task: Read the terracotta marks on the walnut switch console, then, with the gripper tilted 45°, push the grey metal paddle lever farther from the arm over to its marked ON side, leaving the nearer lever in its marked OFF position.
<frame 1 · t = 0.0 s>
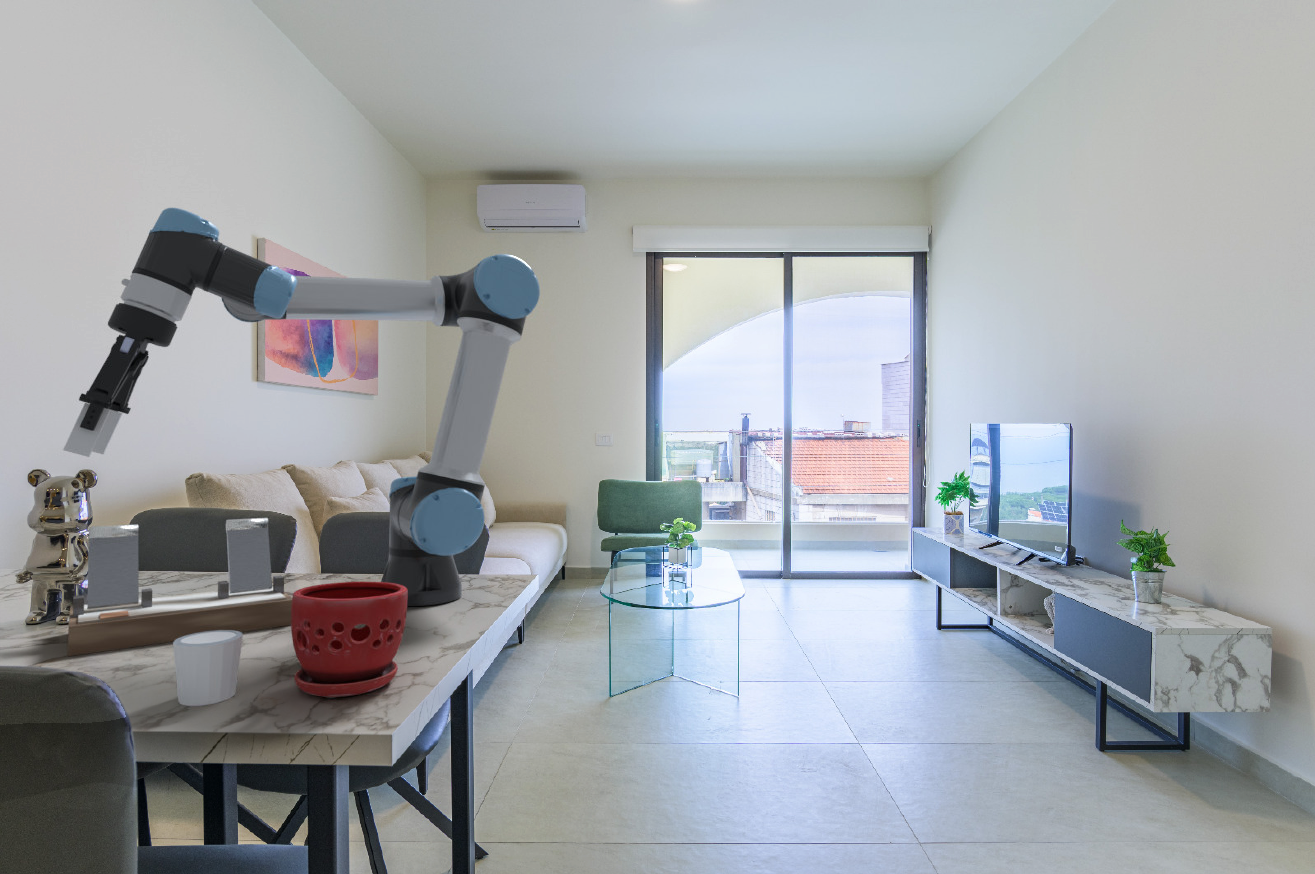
hand: (84, 452, 96), 28 cm above the table, tool tilted 20°, fingers open, 13 cm apart
white cup: (207, 698, 81), on the table
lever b: (113, 564, 106), point 11 cm above the table, hinge at -25.0°
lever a: (249, 554, 117), point 11 cm above the table, hinge at -25.0°
plant pot: (349, 686, 86), on the table
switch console: (185, 628, 109), on the table
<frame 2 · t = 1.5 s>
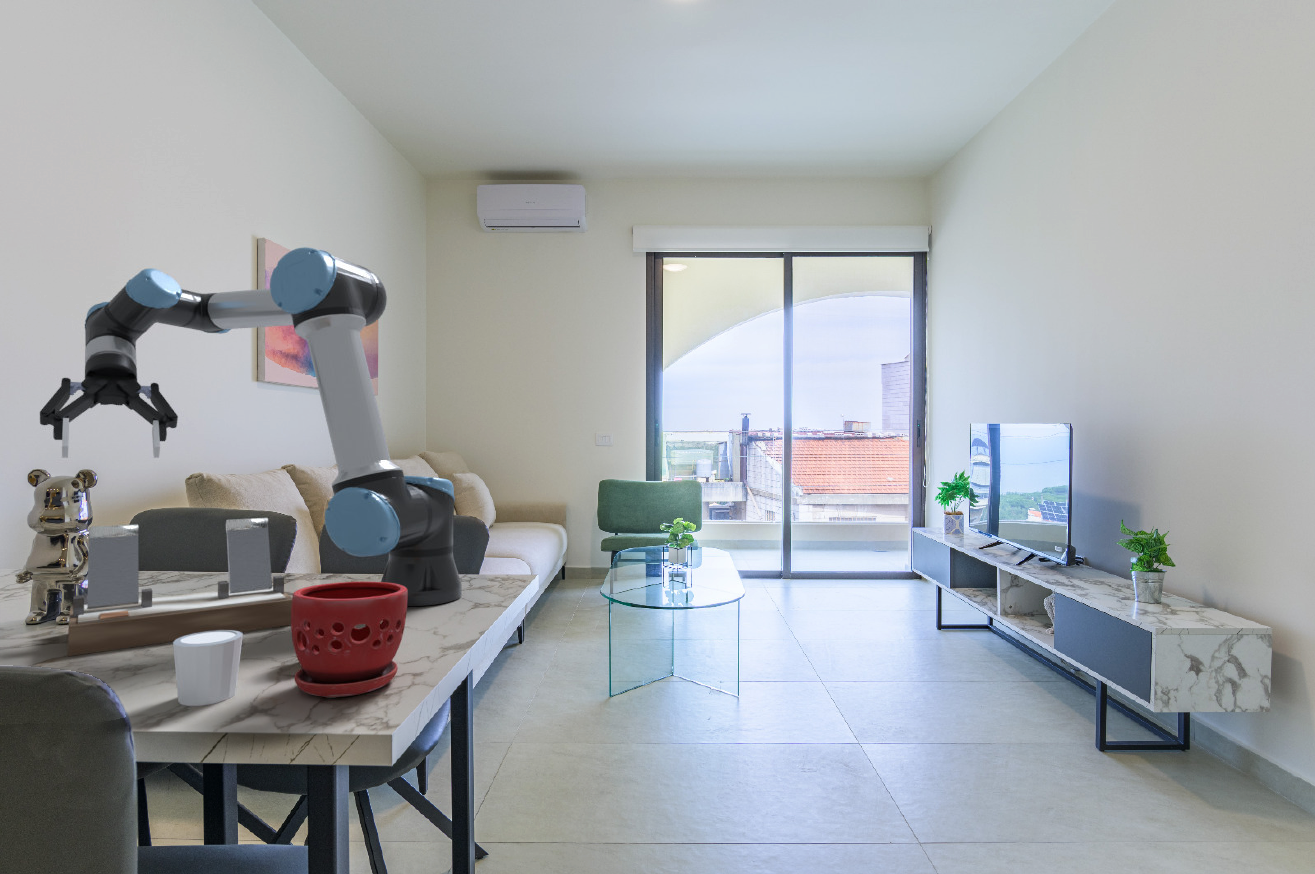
hand: (112, 452, 116), 27 cm above the table, tool tilted 45°, fingers open, 11 cm apart
nothing on the table moved.
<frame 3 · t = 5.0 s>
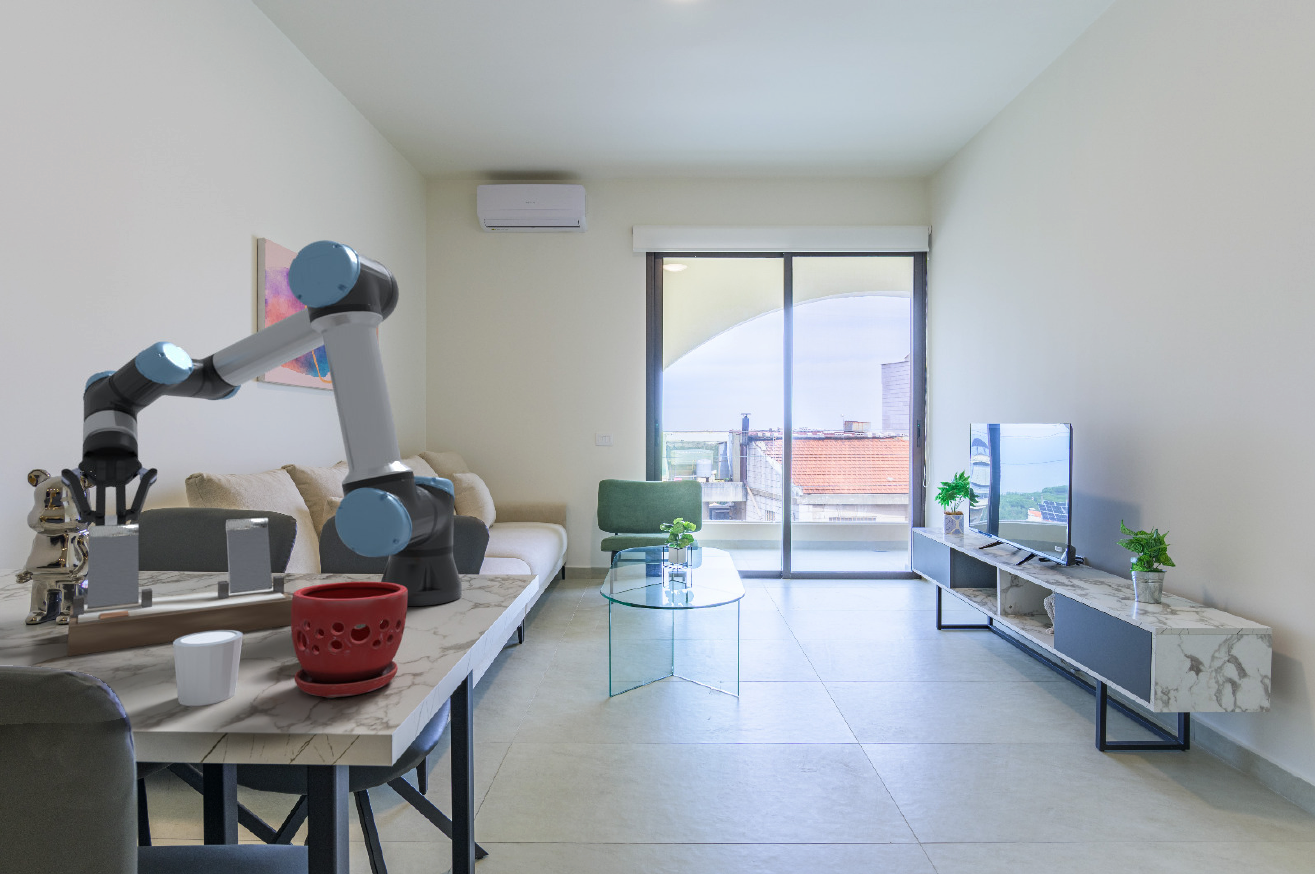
hand: (110, 553, 108), 12 cm above the table, tool tilted 45°, fingers closed
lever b: (113, 564, 106), point 11 cm above the table, hinge at -23.4°, touching gripper
everything else where it was.
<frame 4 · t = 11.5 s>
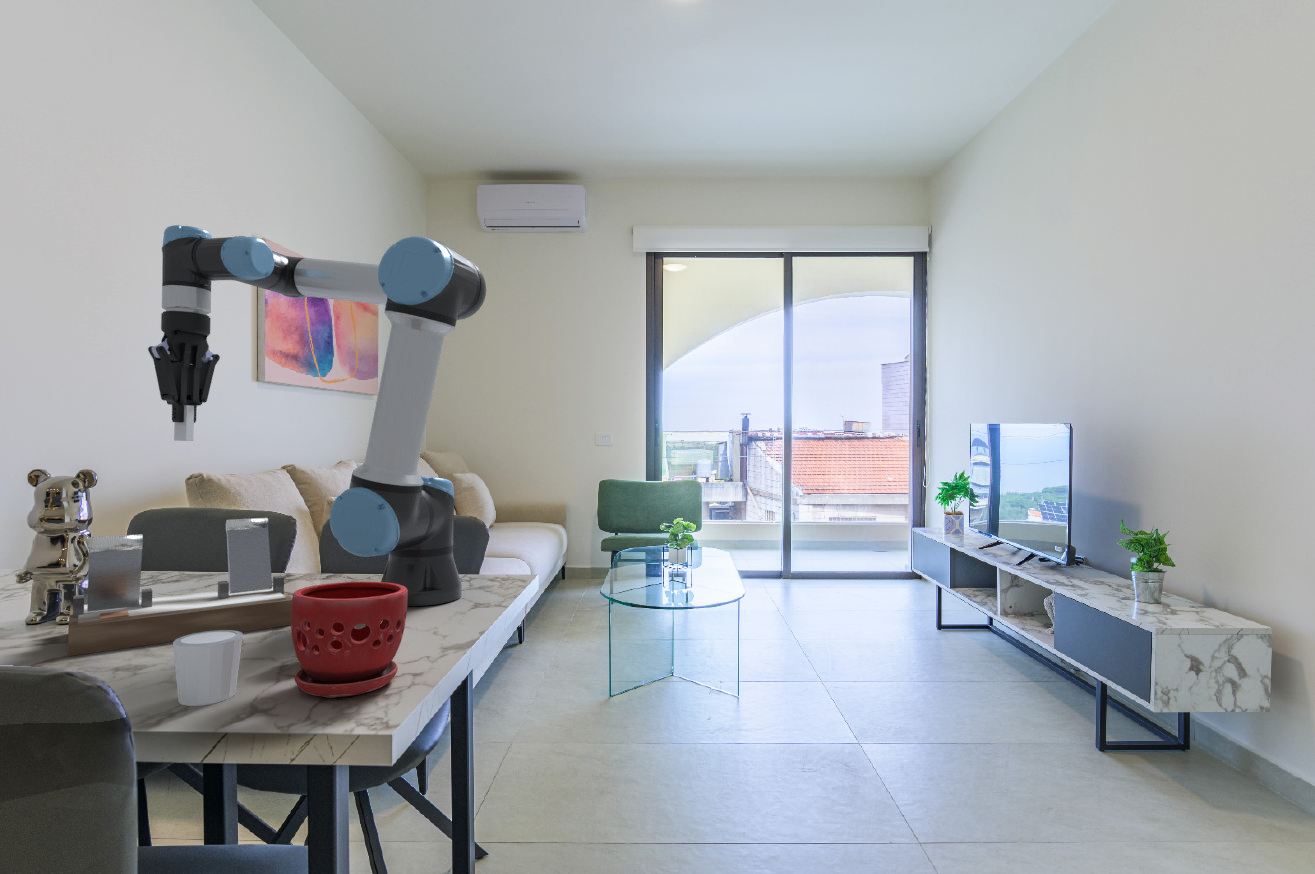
hand: (183, 440, 128), 29 cm above the table, tool pointing down, fingers closed
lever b: (114, 572, 101), point 10 cm above the table, hinge at 28.5°
everything else where it was.
at the end: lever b at +28° (first picture: -25°); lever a at -25° (first picture: -25°) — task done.
